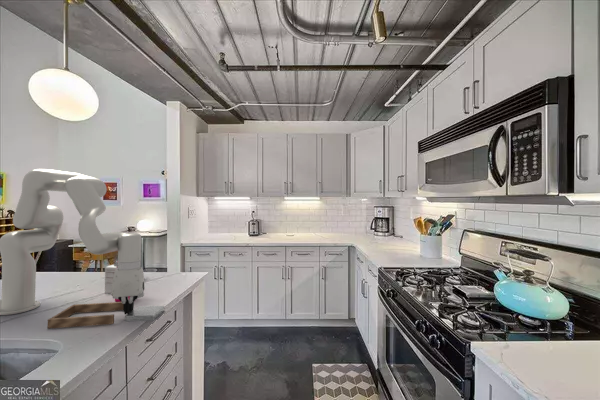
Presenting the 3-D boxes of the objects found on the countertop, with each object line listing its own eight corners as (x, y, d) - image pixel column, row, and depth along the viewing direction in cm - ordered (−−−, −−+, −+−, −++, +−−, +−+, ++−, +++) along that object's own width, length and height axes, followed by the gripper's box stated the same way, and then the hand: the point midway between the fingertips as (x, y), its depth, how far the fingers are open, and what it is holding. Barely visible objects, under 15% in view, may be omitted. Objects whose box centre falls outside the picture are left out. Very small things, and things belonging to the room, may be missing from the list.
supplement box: (115, 288, 134) (115, 263, 135) (129, 288, 134) (129, 263, 134) (103, 293, 127) (104, 266, 127) (118, 293, 127) (119, 267, 127)
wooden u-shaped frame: (47, 328, 91) (47, 319, 91) (73, 312, 105) (73, 304, 105) (112, 324, 96) (112, 315, 96) (129, 308, 109) (129, 301, 109)
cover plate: (125, 322, 98) (125, 315, 98) (138, 312, 107) (138, 306, 107) (153, 322, 99) (153, 315, 99) (163, 312, 108) (163, 305, 108)
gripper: (102, 268, 98) (101, 318, 98) (147, 267, 101) (145, 315, 101) (112, 263, 105) (111, 310, 105) (153, 262, 108) (152, 307, 108)
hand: (128, 312), depth 103 cm, fingers closed
